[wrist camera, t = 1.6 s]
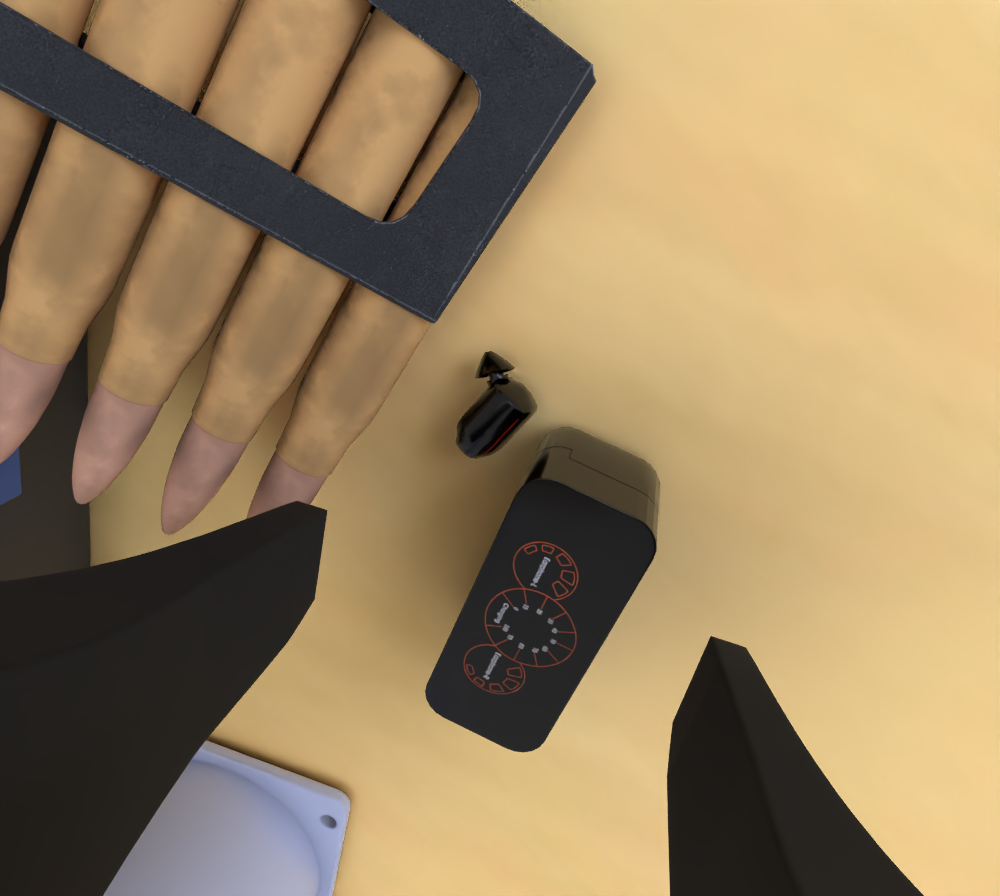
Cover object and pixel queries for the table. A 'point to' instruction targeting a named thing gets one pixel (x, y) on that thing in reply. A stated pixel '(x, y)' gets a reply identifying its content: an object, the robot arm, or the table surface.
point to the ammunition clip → (254, 211)
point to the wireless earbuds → (543, 572)
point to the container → (44, 460)
